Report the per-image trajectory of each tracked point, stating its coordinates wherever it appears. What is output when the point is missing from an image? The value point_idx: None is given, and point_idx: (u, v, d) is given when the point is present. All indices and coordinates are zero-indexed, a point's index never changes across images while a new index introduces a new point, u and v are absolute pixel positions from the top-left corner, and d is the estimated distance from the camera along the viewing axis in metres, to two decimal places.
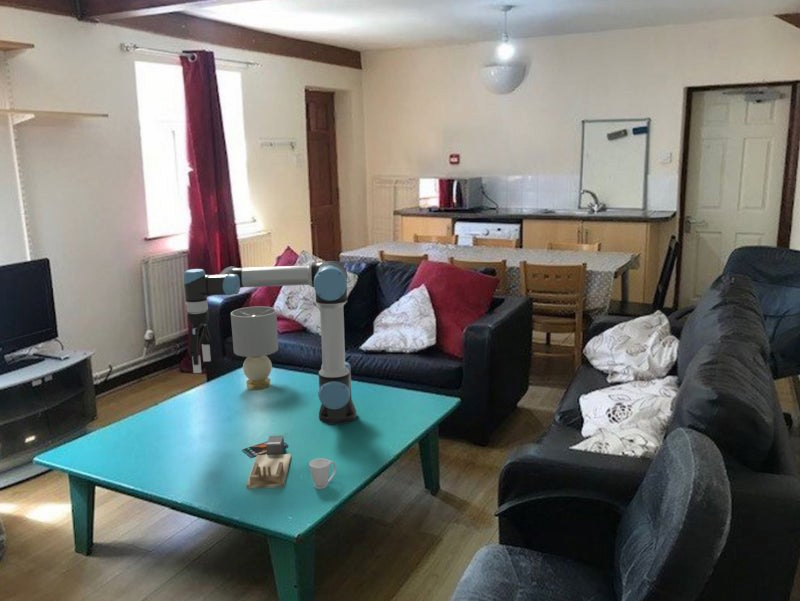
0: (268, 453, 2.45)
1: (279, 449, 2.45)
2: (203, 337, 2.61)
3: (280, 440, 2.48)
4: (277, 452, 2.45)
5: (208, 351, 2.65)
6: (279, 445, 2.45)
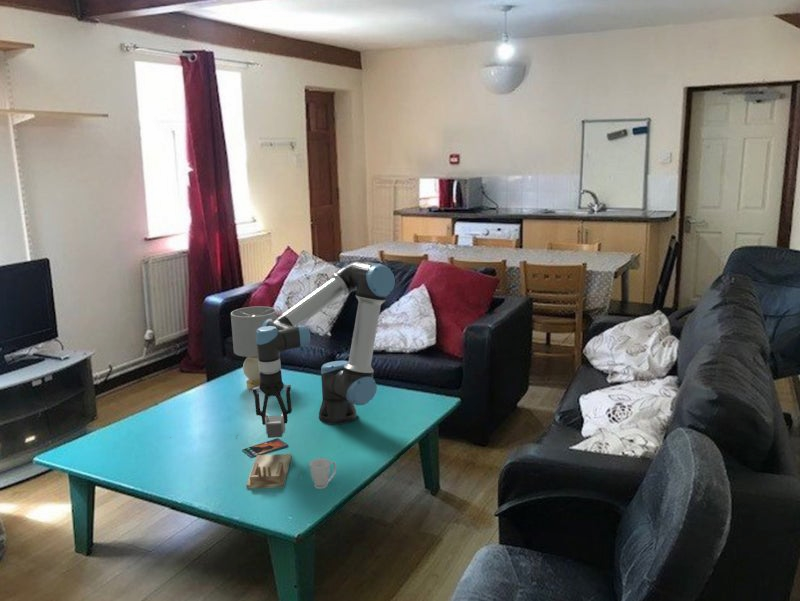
0: (268, 433, 2.44)
1: (279, 428, 2.44)
2: None
3: (280, 419, 2.47)
4: (277, 431, 2.44)
5: None
6: (279, 424, 2.44)
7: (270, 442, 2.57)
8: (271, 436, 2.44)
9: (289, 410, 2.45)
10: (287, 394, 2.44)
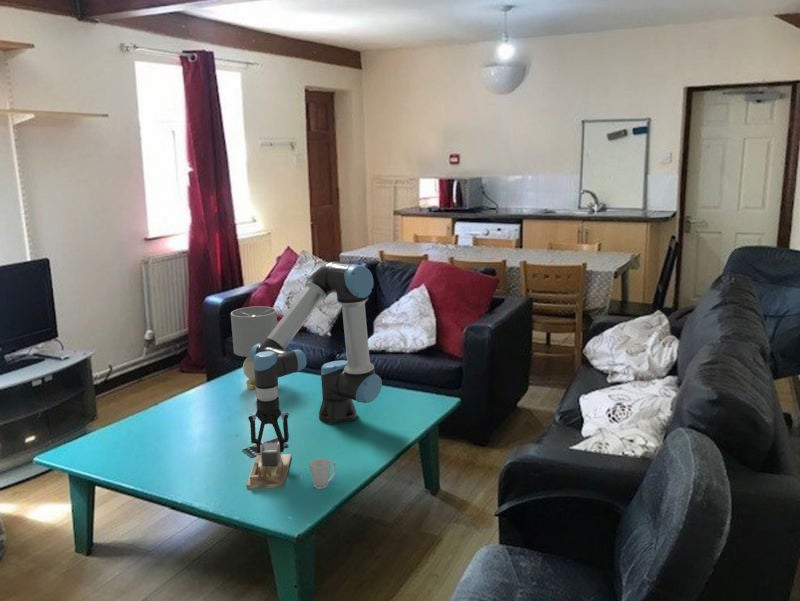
0: (263, 462, 2.36)
1: (275, 457, 2.36)
2: None
3: (276, 448, 2.39)
4: (273, 460, 2.36)
5: None
6: (275, 453, 2.35)
7: (270, 442, 2.57)
8: (266, 465, 2.36)
9: (286, 439, 2.37)
10: (284, 422, 2.36)
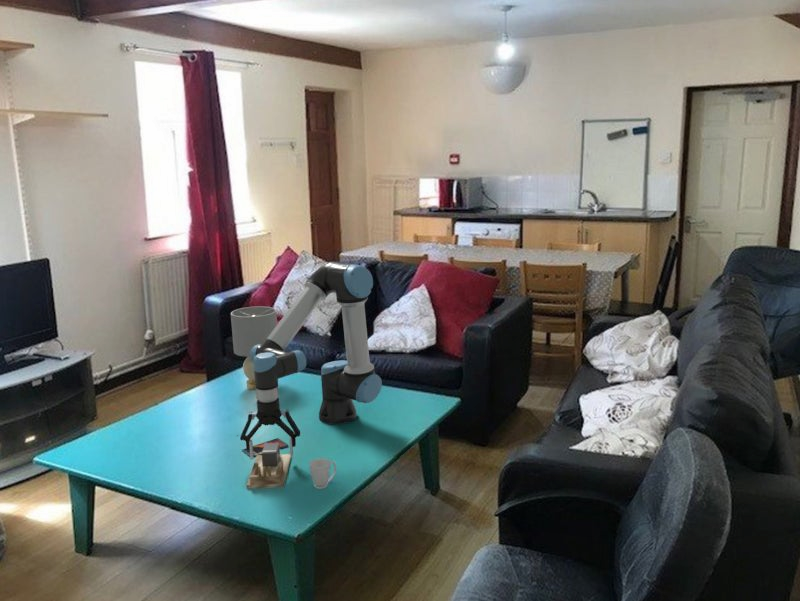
0: (263, 462, 2.36)
1: (275, 457, 2.36)
2: None
3: (276, 448, 2.39)
4: (273, 460, 2.36)
5: (290, 445, 2.39)
6: (275, 453, 2.35)
7: (270, 442, 2.57)
8: (266, 465, 2.36)
9: (297, 433, 2.38)
10: (288, 419, 2.36)
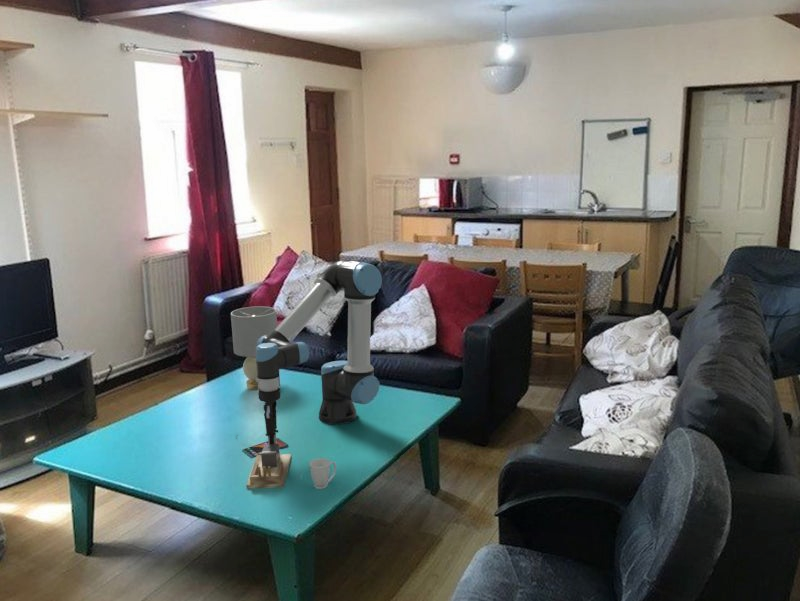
0: (263, 462, 2.35)
1: (275, 458, 2.35)
2: None
3: (275, 449, 2.38)
4: (272, 461, 2.35)
5: None
6: (275, 454, 2.35)
7: None
8: (266, 466, 2.35)
9: (276, 425, 2.46)
10: None
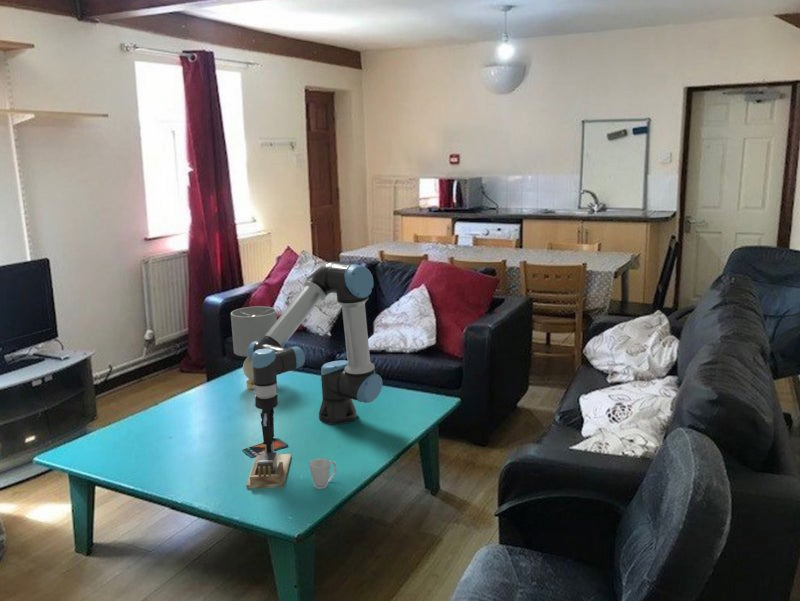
0: None
1: (271, 467, 2.28)
2: None
3: (272, 458, 2.31)
4: None
5: None
6: (271, 463, 2.28)
7: None
8: None
9: (273, 433, 2.39)
10: (273, 415, 2.39)
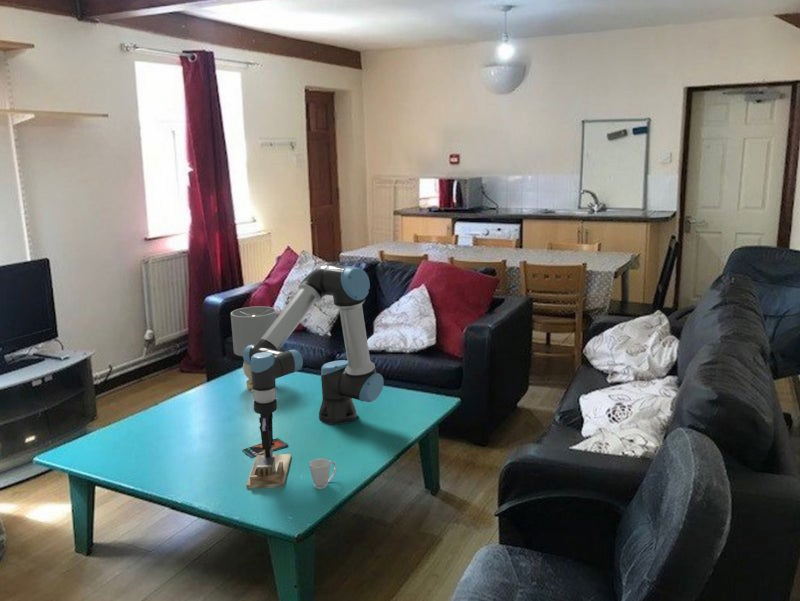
0: None
1: None
2: None
3: (271, 463, 2.28)
4: None
5: None
6: None
7: None
8: None
9: (272, 437, 2.36)
10: None
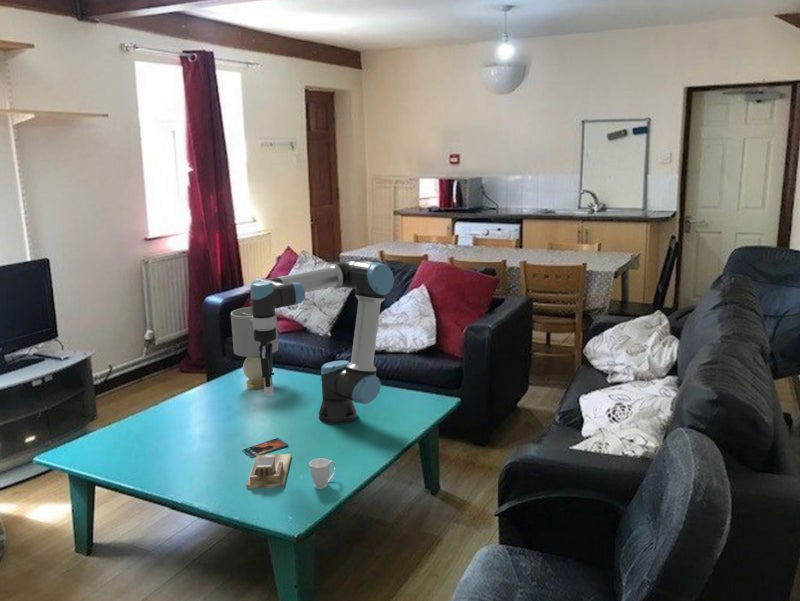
0: None
1: None
2: None
3: (271, 463, 2.28)
4: None
5: None
6: None
7: (270, 442, 2.57)
8: None
9: (272, 368, 2.40)
10: None
